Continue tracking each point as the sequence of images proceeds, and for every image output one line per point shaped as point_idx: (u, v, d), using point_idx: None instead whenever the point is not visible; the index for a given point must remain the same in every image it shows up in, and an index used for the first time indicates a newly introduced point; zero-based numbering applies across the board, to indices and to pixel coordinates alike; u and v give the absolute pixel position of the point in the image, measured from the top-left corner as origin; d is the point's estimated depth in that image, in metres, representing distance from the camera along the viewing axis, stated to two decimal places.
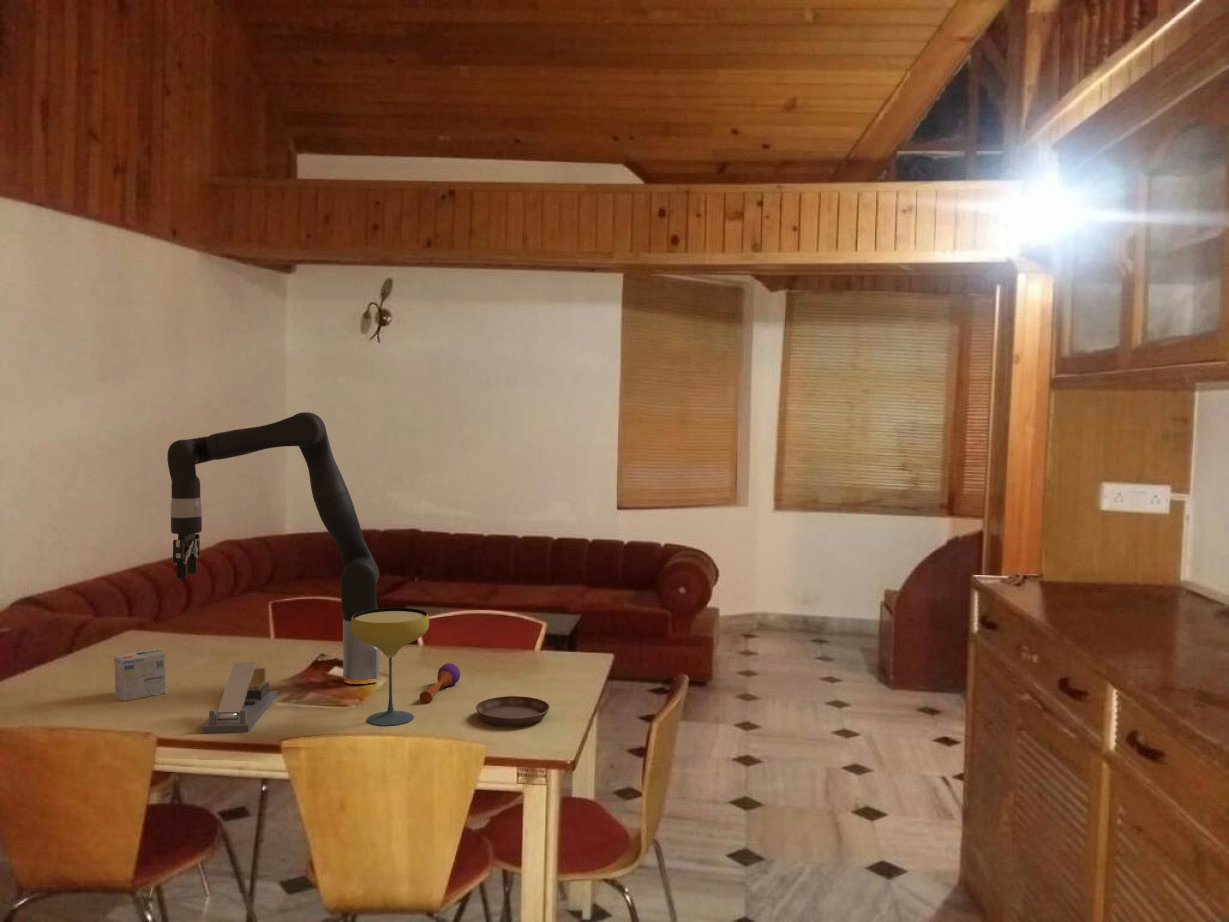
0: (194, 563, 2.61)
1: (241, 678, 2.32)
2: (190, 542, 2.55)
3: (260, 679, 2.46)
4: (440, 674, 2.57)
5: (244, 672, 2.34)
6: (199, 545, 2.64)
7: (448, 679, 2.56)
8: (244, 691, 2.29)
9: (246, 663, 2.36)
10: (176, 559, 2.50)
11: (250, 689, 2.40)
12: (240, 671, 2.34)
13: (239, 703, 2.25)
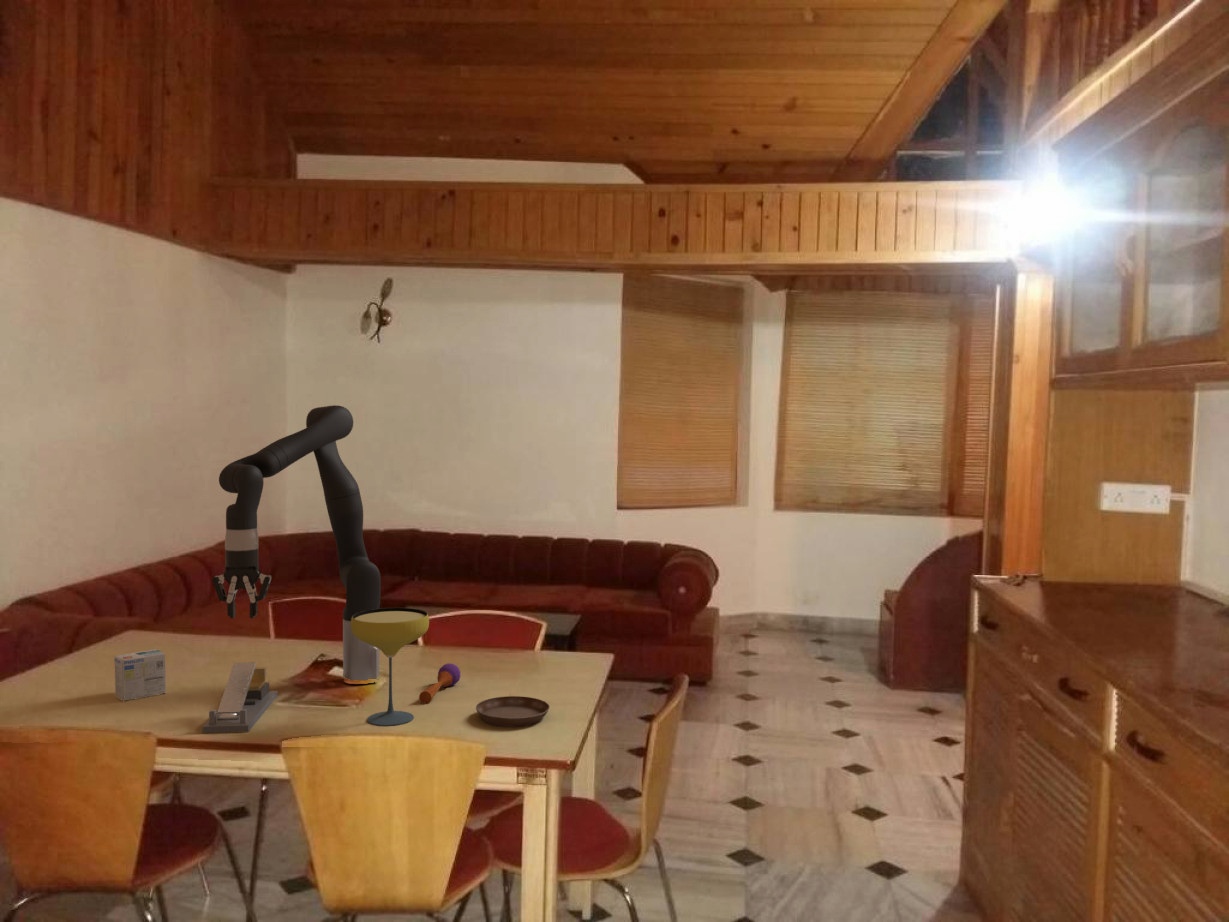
0: None
1: (241, 678, 2.32)
2: None
3: (260, 679, 2.46)
4: (440, 674, 2.57)
5: (244, 672, 2.34)
6: None
7: (448, 680, 2.56)
8: (244, 691, 2.29)
9: (246, 663, 2.36)
10: None
11: (250, 689, 2.40)
12: (240, 671, 2.34)
13: (239, 703, 2.25)
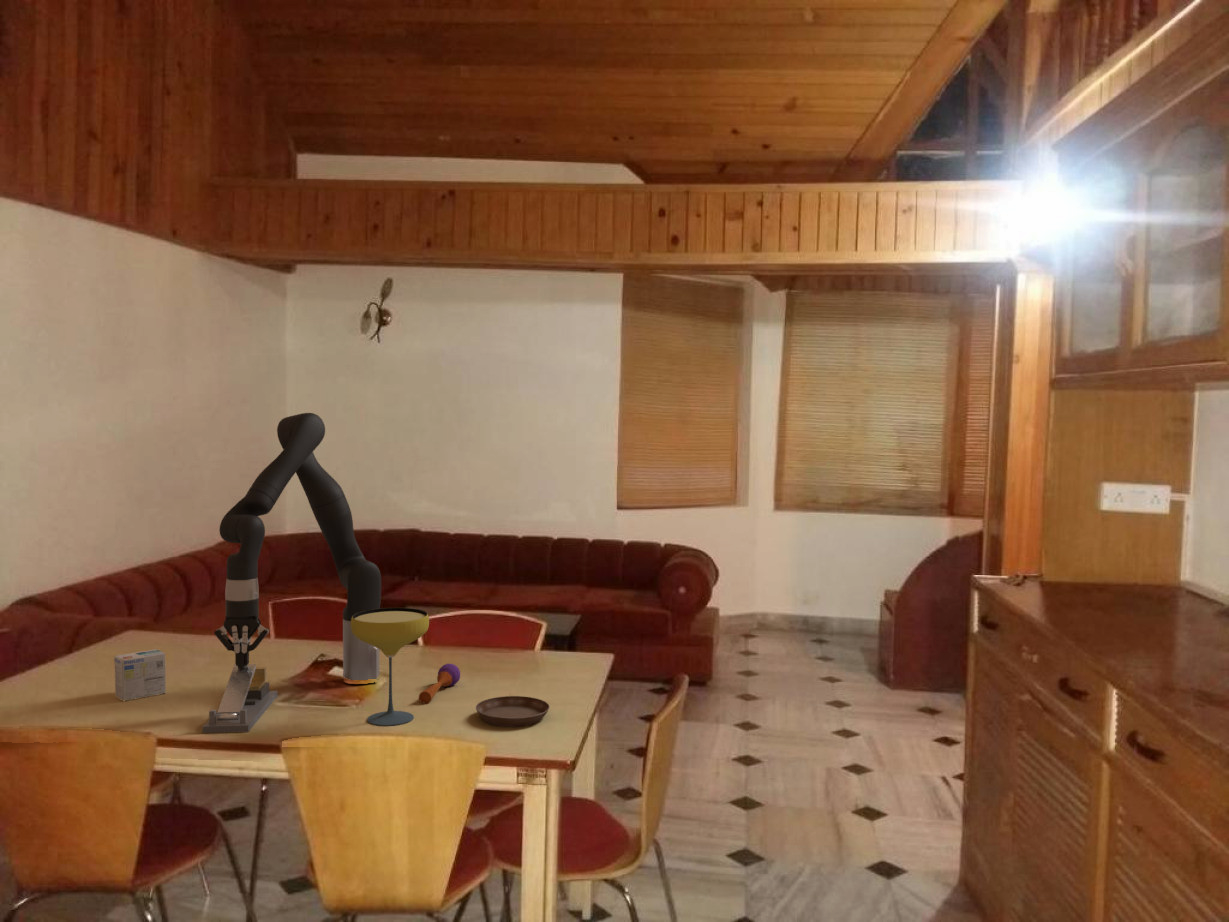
0: None
1: (241, 679, 2.32)
2: None
3: (260, 679, 2.46)
4: (440, 674, 2.57)
5: (244, 674, 2.34)
6: None
7: (448, 680, 2.56)
8: (244, 692, 2.29)
9: (247, 665, 2.37)
10: None
11: (250, 689, 2.40)
12: (240, 673, 2.34)
13: (239, 704, 2.25)
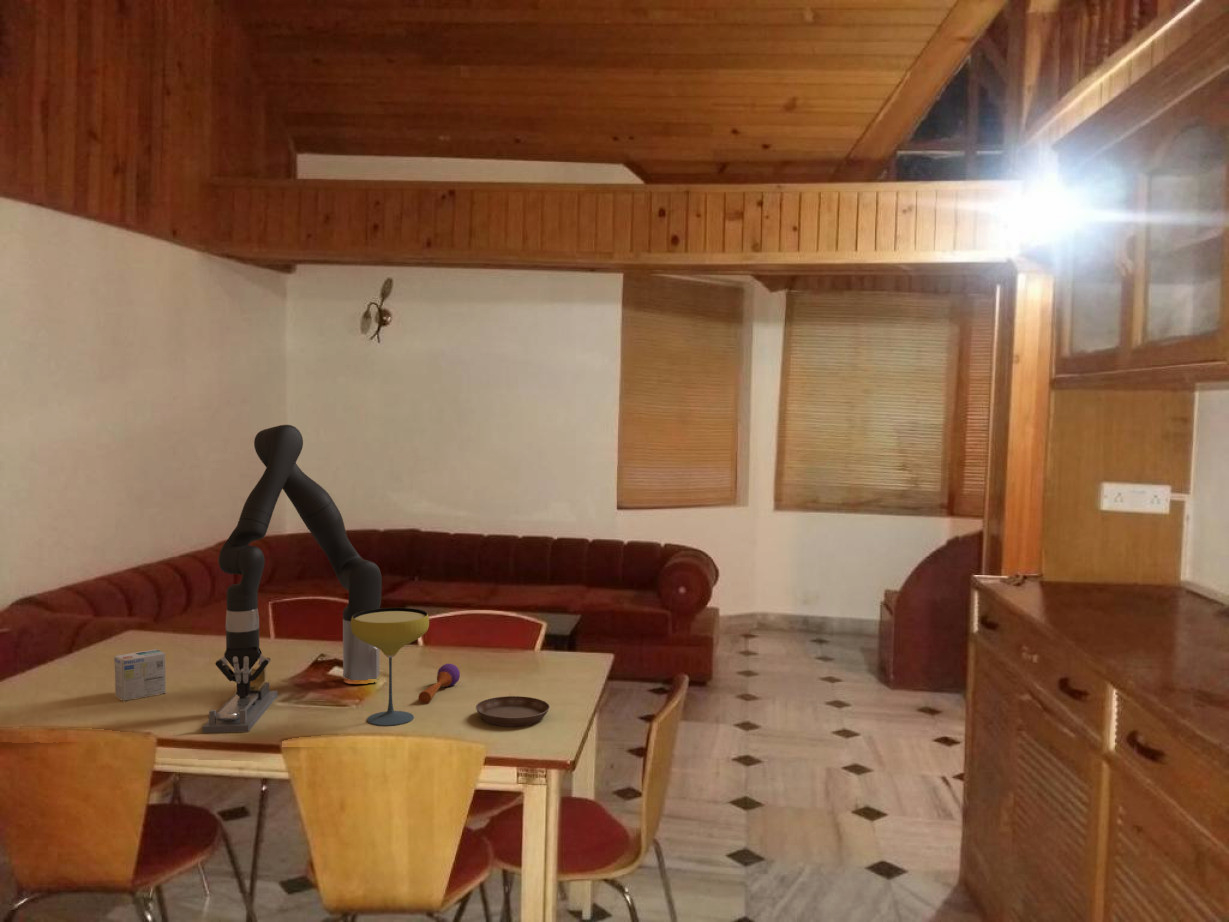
0: None
1: (243, 699, 2.34)
2: None
3: (260, 679, 2.46)
4: (439, 674, 2.57)
5: (247, 697, 2.36)
6: None
7: (448, 680, 2.56)
8: (246, 705, 2.30)
9: None
10: None
11: (250, 689, 2.40)
12: None
13: (240, 709, 2.26)
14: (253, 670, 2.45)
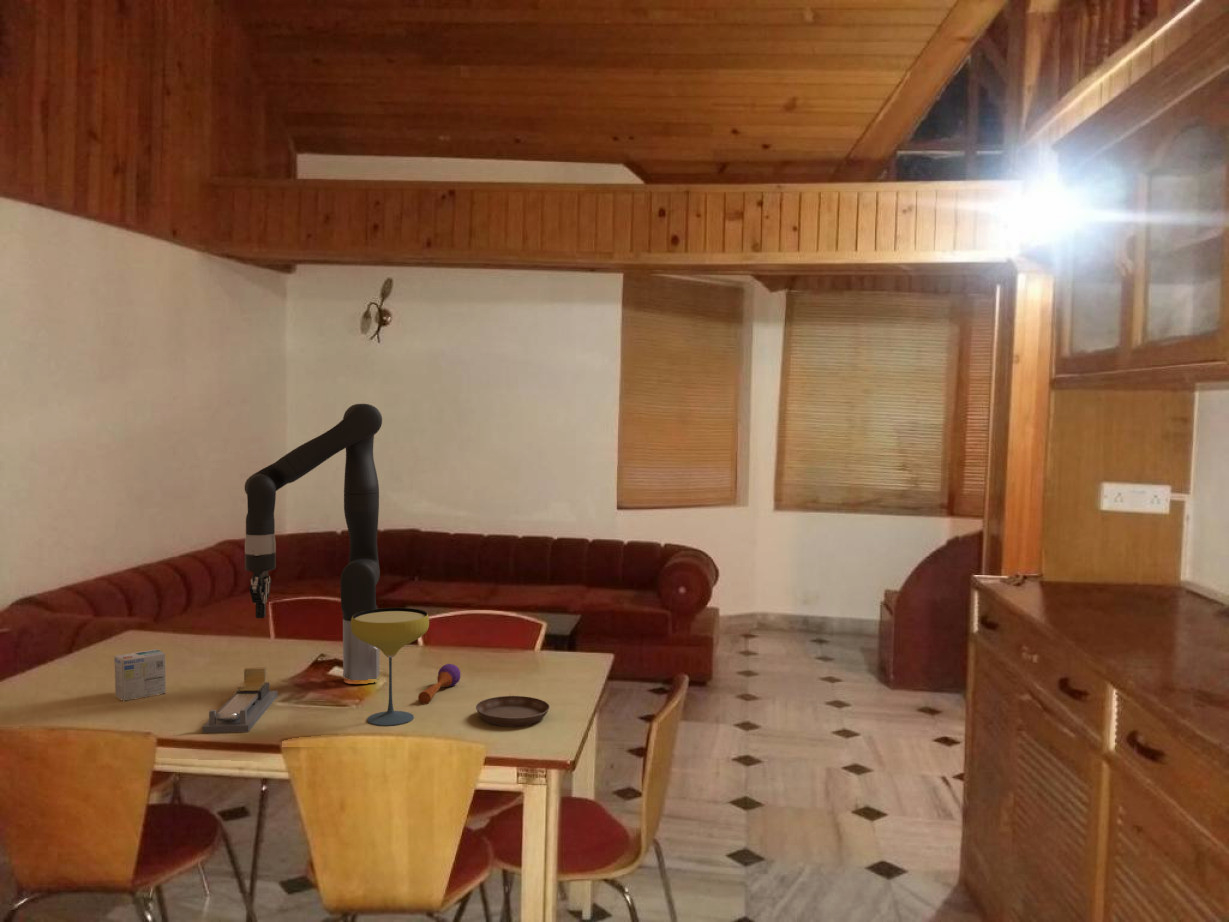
0: None
1: (243, 699, 2.34)
2: None
3: (260, 679, 2.46)
4: (440, 675, 2.57)
5: (247, 697, 2.36)
6: (251, 596, 2.47)
7: (448, 680, 2.56)
8: (246, 705, 2.30)
9: None
10: None
11: (250, 689, 2.40)
12: (243, 697, 2.36)
13: (240, 709, 2.26)
14: (253, 670, 2.45)
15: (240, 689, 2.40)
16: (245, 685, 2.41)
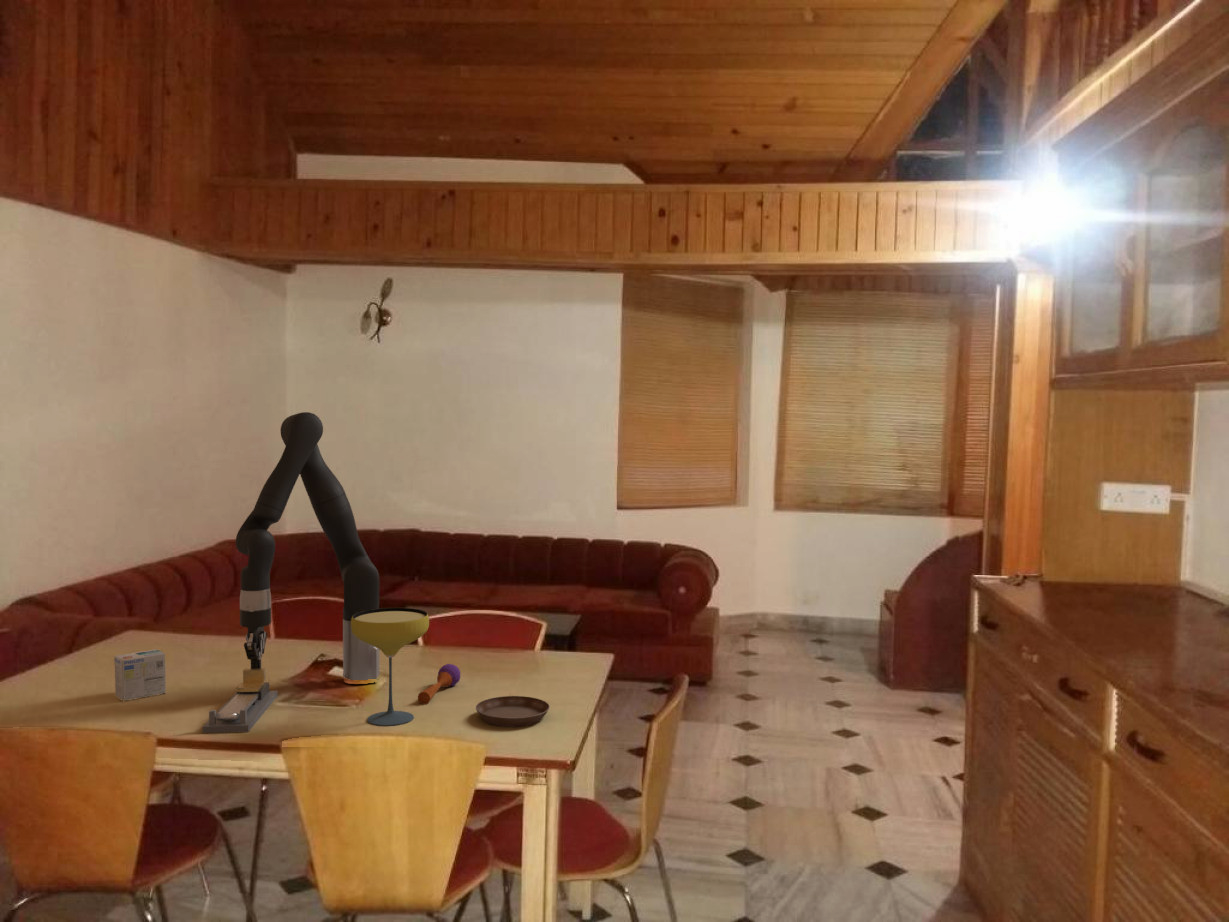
0: None
1: (243, 699, 2.34)
2: None
3: (259, 680, 2.45)
4: (440, 675, 2.56)
5: (247, 697, 2.36)
6: (246, 652, 2.43)
7: (448, 680, 2.56)
8: (246, 705, 2.30)
9: None
10: None
11: (249, 690, 2.39)
12: (243, 697, 2.36)
13: (240, 709, 2.26)
14: (252, 671, 2.44)
15: (239, 690, 2.39)
16: (244, 686, 2.40)
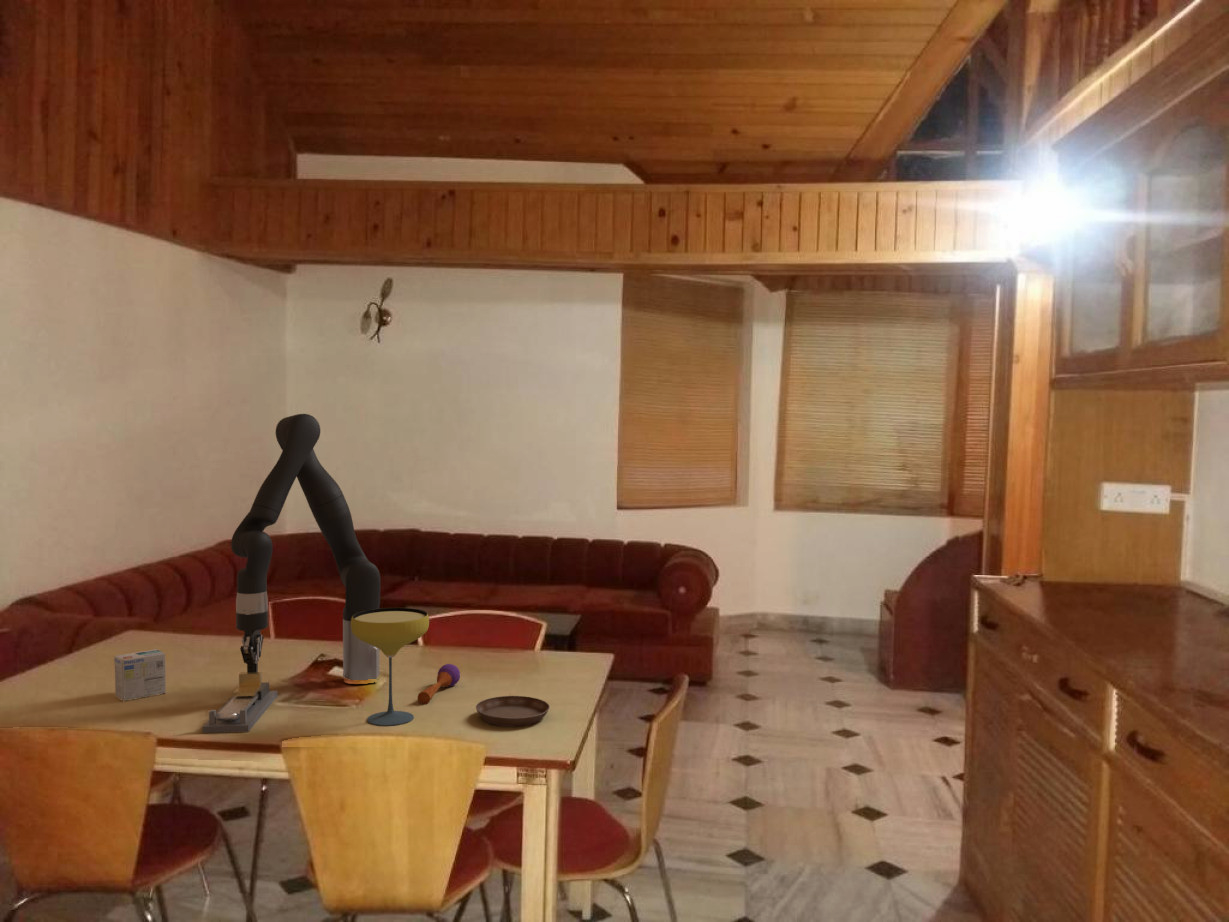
0: None
1: (243, 699, 2.34)
2: None
3: (255, 684, 2.41)
4: (439, 675, 2.56)
5: (247, 697, 2.36)
6: None
7: (448, 680, 2.56)
8: (246, 705, 2.30)
9: None
10: None
11: (245, 694, 2.36)
12: (243, 697, 2.36)
13: (240, 709, 2.26)
14: (248, 675, 2.41)
15: (235, 694, 2.35)
16: (240, 690, 2.37)
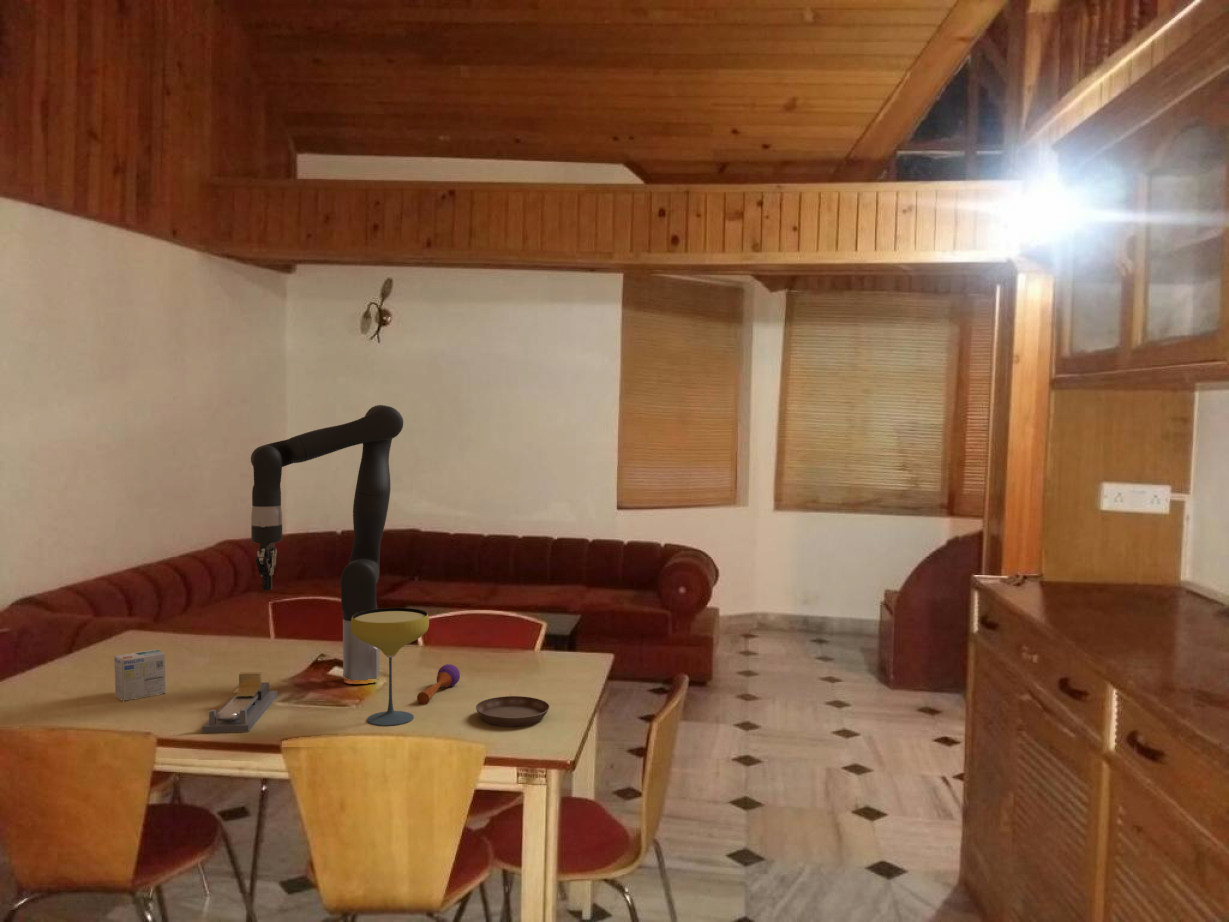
0: None
1: (243, 699, 2.34)
2: None
3: (255, 684, 2.41)
4: (439, 675, 2.56)
5: (247, 697, 2.36)
6: (258, 567, 2.46)
7: (447, 681, 2.55)
8: (246, 705, 2.30)
9: None
10: None
11: (245, 695, 2.36)
12: (243, 697, 2.36)
13: (240, 709, 2.26)
14: (248, 675, 2.41)
15: (235, 695, 2.35)
16: (240, 690, 2.37)
